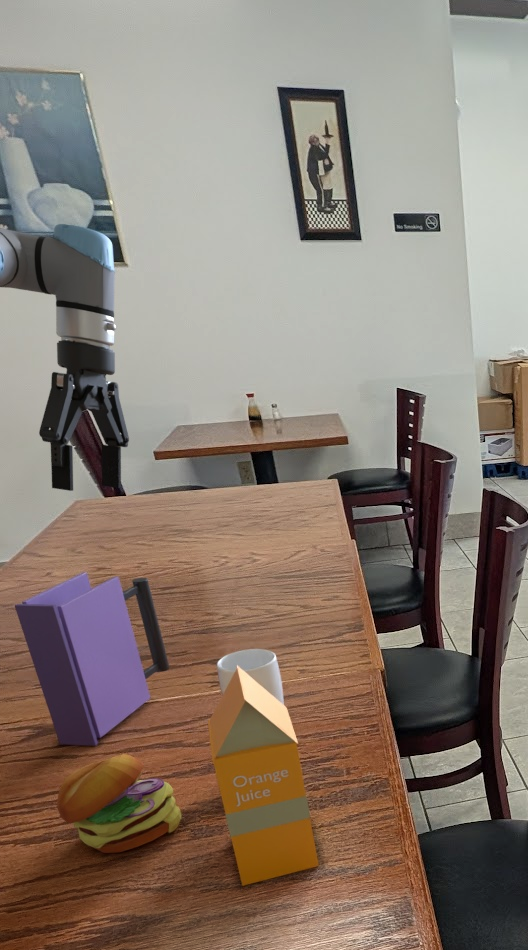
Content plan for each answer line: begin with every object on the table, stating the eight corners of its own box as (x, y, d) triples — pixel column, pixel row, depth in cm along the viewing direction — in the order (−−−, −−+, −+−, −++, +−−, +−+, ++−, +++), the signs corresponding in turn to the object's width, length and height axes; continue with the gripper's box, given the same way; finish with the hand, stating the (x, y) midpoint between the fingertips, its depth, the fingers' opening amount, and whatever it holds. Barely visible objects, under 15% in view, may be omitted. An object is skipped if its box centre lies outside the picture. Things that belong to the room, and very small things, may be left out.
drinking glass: (300, 753, 105) (280, 646, 99) (293, 781, 99) (272, 668, 93) (245, 759, 104) (221, 650, 98) (235, 787, 98) (209, 673, 92)
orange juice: (240, 886, 82) (198, 708, 73) (234, 838, 89) (194, 671, 80) (320, 865, 84) (289, 691, 76) (307, 821, 92) (277, 657, 83)
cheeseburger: (169, 855, 86) (121, 778, 82) (74, 880, 87) (21, 806, 82) (198, 800, 95) (157, 729, 91) (112, 824, 96) (67, 754, 91)
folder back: (59, 744, 109) (14, 605, 100) (119, 700, 120) (82, 572, 112) (95, 746, 108) (52, 606, 99) (151, 701, 120) (117, 572, 111)
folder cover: (91, 737, 109) (51, 606, 101) (163, 681, 125) (133, 563, 117) (105, 738, 109) (66, 606, 101) (176, 681, 125) (147, 564, 117)
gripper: (62, 334, 111) (65, 494, 117) (151, 357, 135) (151, 489, 141) (6, 326, 111) (12, 486, 116) (106, 350, 135) (107, 482, 140)
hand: (88, 488), depth 129 cm, fingers open, 13 cm apart
